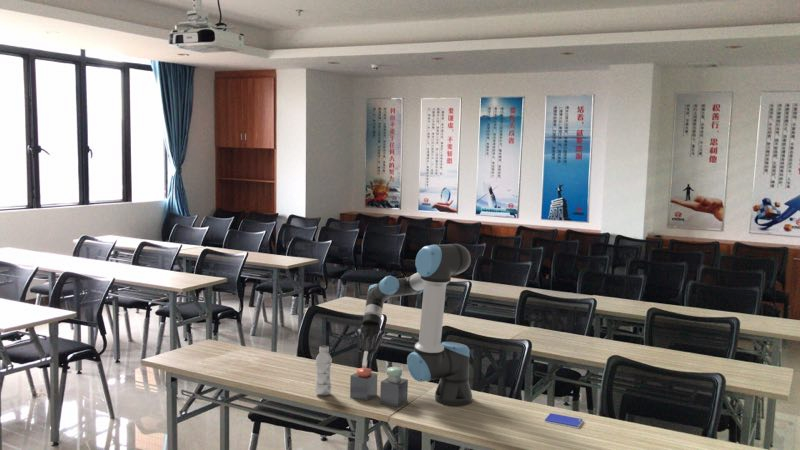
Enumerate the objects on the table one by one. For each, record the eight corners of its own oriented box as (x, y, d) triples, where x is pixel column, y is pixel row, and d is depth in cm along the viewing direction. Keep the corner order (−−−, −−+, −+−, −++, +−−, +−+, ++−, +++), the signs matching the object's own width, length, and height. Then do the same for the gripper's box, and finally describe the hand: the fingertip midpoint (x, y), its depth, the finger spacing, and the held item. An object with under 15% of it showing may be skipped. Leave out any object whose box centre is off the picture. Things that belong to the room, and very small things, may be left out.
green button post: (407, 401, 276) (407, 379, 275) (398, 407, 269) (398, 385, 268) (389, 397, 279) (390, 376, 279) (380, 403, 272) (380, 381, 272)
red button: (373, 392, 282) (374, 369, 281) (366, 396, 276) (366, 373, 275) (361, 389, 284) (361, 366, 284) (353, 394, 279) (354, 370, 278)
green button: (404, 392, 275) (404, 368, 274) (397, 396, 270) (397, 372, 269) (391, 389, 278) (391, 366, 277) (383, 393, 272) (384, 369, 272)
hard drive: (583, 418, 259) (550, 412, 265) (578, 425, 252) (544, 419, 258) (582, 422, 260) (550, 416, 265) (577, 429, 252) (544, 423, 258)
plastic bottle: (328, 398, 277) (329, 349, 276) (312, 396, 279) (313, 348, 277) (333, 392, 284) (334, 345, 282) (317, 391, 285) (318, 344, 283)
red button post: (376, 395, 282) (377, 373, 281) (367, 401, 275) (367, 379, 274) (360, 391, 286) (360, 370, 285) (350, 397, 279) (350, 375, 278)
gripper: (388, 323, 297) (380, 372, 282) (358, 321, 298) (349, 370, 283) (386, 313, 291) (379, 363, 276) (356, 311, 292) (347, 361, 278)
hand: (364, 366), depth 280 cm, fingers closed
